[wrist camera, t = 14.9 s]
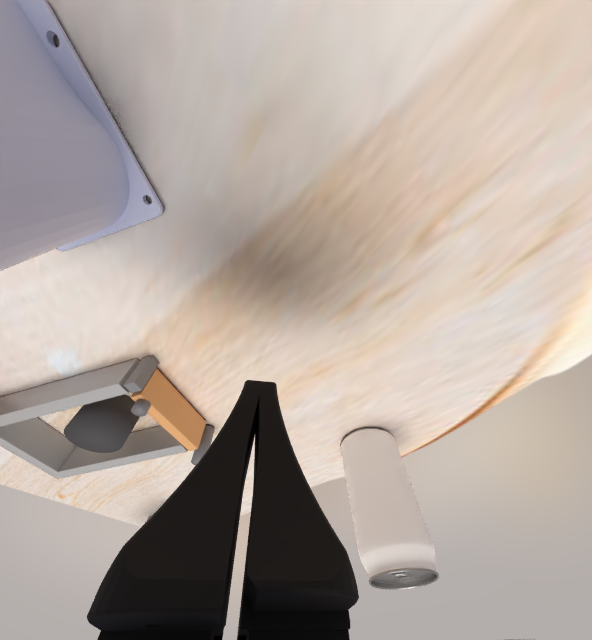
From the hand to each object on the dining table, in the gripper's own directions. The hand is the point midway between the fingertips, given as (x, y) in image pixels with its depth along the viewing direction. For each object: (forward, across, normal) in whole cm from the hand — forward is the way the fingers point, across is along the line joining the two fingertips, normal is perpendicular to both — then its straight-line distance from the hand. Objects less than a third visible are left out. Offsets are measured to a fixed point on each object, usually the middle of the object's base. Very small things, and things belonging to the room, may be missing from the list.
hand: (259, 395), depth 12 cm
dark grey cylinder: (+10, +15, +15) cm, 23 cm away
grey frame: (+9, +16, +16) cm, 24 cm away
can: (+10, -13, +18) cm, 24 cm away
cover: (+9, +8, +13) cm, 18 cm away
